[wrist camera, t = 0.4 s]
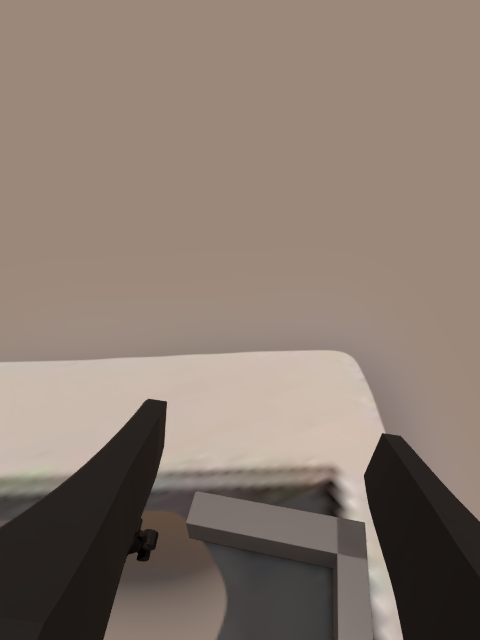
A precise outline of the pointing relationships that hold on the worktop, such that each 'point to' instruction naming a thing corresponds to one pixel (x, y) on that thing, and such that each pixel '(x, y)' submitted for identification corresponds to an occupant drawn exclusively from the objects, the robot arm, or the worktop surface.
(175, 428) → the worktop surface
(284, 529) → the chassis bay
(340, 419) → the worktop surface
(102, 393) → the worktop surface
